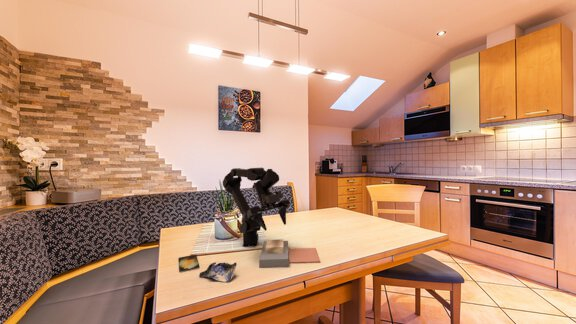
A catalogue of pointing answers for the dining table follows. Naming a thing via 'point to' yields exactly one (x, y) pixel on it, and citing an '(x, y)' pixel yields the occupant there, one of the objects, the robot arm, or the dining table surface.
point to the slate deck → (274, 257)
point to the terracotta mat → (303, 255)
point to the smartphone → (188, 263)
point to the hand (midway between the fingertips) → (275, 227)
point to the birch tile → (274, 246)
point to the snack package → (219, 271)
